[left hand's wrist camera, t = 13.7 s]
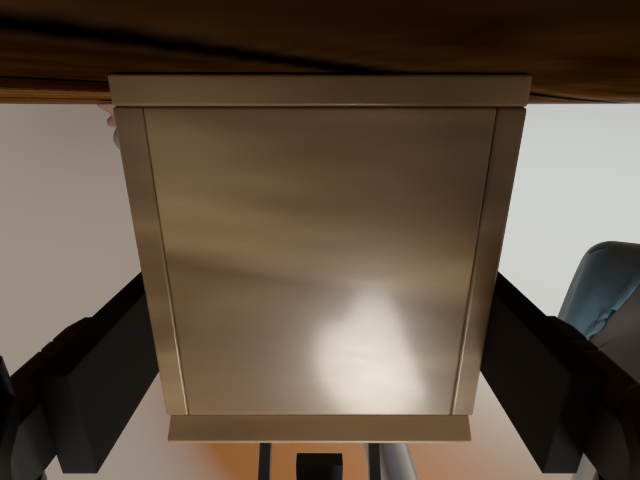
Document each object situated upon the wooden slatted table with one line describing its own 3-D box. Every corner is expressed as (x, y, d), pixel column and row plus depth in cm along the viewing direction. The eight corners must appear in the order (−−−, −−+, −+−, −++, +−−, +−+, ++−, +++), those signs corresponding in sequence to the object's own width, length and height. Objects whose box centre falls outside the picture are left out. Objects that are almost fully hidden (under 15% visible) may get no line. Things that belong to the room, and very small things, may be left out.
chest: (399, 99, 23) (388, 250, 26) (241, 99, 23) (251, 249, 26) (534, 73, 8) (473, 416, 12) (105, 73, 8) (166, 415, 12)
